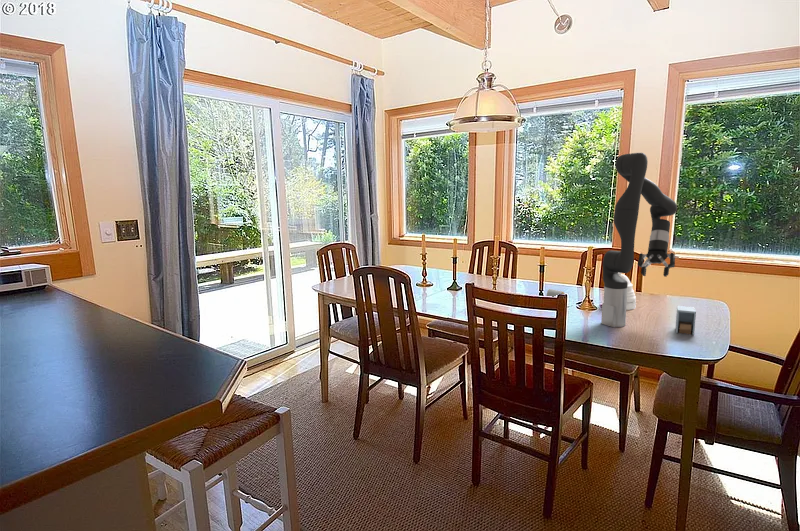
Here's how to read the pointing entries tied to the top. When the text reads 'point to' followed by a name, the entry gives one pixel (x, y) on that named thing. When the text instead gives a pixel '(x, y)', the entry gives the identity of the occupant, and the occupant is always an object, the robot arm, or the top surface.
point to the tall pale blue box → (686, 316)
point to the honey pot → (629, 294)
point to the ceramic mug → (554, 292)
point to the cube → (685, 327)
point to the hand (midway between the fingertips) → (654, 275)
